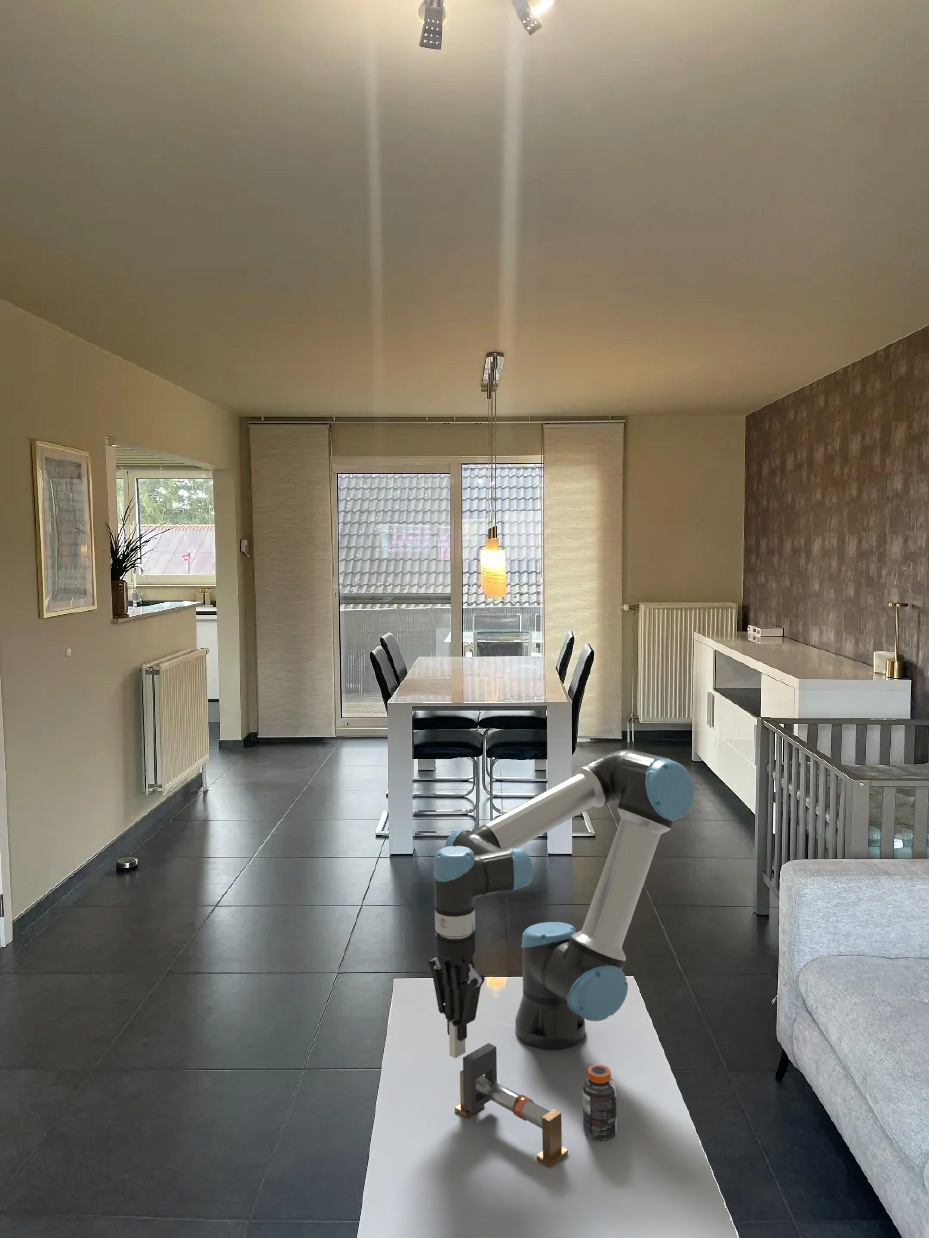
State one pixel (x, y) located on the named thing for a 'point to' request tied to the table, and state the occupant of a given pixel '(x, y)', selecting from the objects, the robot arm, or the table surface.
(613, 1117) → the pill bottle
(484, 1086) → the pipe rig
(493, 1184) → the table surface
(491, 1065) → the grey plate with hole
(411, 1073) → the table surface
